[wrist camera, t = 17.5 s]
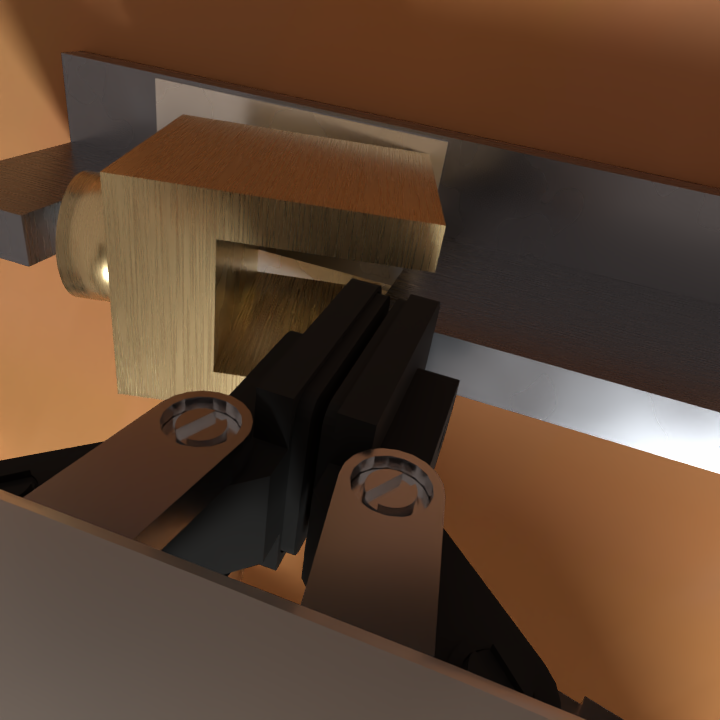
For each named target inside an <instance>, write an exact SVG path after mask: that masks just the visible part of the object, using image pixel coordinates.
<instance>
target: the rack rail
mask: <svg viewBox="0 0 720 720" xmlns="http://www.w3.org/2000/svg"><path fill="white" fill-rule="evenodd" d="M61 56H62V65H63V74H64V84H65V93H66V102H67V111H68V120H69V129H70V138H71V142H70V143H66V144H63V145H59V146H55V147H51V148H47V149H43V150H39V151H36V152H32V153H28V154H24V155H20V156H16V157H13V158H9V159H5V160H1V161H0V258H2V259H5V260H9V261H12V262H15V263H19V264H22V265H25V266H32V265H34V264H36V263H38V262H40V261H42V260H45V259H47V258H49V257H51V256H53V255H55V254H56V227H57V219H58V214H59V209H60V205H61V202H62V199H63V196H64V193H65V191H66V189H67V187H68V185H69V183H70V182H71V180H72V179H73V178H74V177H75V176H76V175H77V174H78V173H80V172H82V171H86V170H87V171H93V172H100V171H102V170H103V169H104V168H106V167H107V166H109V165H110V164H112V163H113V162H115V161H116V160H117V159H119V158H120V157H122V156H123V155H125V154H126V153H128V152H129V151H130V150H132V149H133V148H135V147H136V146H138V145H139V144H141V143H142V142H143V141H145V140H146V139H148V138H149V137H151V136H152V135H154V134H155V133H156V132H158V131H159V130H161V129H162V128H164V127H165V126H167V125H168V124H169V123H171V122H172V121H174V120H175V119H177V118H178V117H180V116H181V115H182V114H184V115H190V116H197V117H203V118H209V119H215V120H221V121H228V122H234V123H240V124H246V125H252V126H259V127H265V128H271V129H277V130H283V131H290V132H296V133H302V134H308V135H314V136H321V137H327V138H333V139H339V140H345V141H352V142H358V143H364V144H370V145H376V146H383V147H389V148H395V149H401V150H407V151H413V152H420V153H426V154H429V155H430V159H431V163H432V168H433V172H434V176H435V181H436V185H437V189H438V194H439V198H440V202H441V207H442V211H443V215H444V220H445V224H446V228H445V232H444V236H443V241H442V245H441V249H440V253H439V258H438V262H437V266H436V271H435V273H434V272H428V271H421V270H415V269H408V268H402V267H395V266H389V265H382V264H375V263H369V262H362V261H356V260H349V259H343V258H336V257H329V256H323V255H316V254H310V253H303V252H297V251H290V250H283V249H277V248H270V247H264V246H259V250H258V267H257V271H258V272H265V273H272V274H278V275H285V276H292V277H298V278H305V279H312V280H318V281H325V282H332V283H338V284H345V285H346V284H347V283H348V282H349V281H350V280H351V279H352V278H354V279H358V280H361V281H365V282H369V283H372V284H376V285H380V286H381V288H382V290H385V291H387V293H386V294H385V295H387V296H390V305H389V310H388V312H389V311H390V309H391V308H392V306H393V305H394V303H395V302H396V300H397V299H401V300H405V301H407V299H408V298H409V296H410V295H411V294H413V295H417V296H420V297H424V298H428V299H431V300H435V301H439V302H440V309H439V314H438V318H437V322H436V326H435V330H434V335H433V339H432V343H431V347H430V351H429V356H428V360H427V364H426V368H425V370H428V371H431V372H434V373H438V374H441V375H444V376H448V377H451V378H455V379H458V380H460V383H459V387H458V391H457V394H456V395H459V396H462V397H466V398H469V399H472V400H476V401H479V402H482V403H486V404H489V405H492V406H496V407H499V408H502V409H506V410H509V411H512V412H516V413H519V414H522V415H526V416H529V417H532V418H536V419H539V420H542V421H546V422H549V423H552V424H556V425H559V426H562V427H566V428H569V429H572V430H576V431H579V432H582V433H586V434H589V435H592V436H596V437H599V438H602V439H606V440H609V441H612V442H616V443H619V444H622V445H626V446H629V447H632V448H636V449H639V450H642V451H646V452H649V453H652V454H656V455H659V456H662V457H666V458H669V459H672V460H676V461H679V462H682V463H686V464H689V465H692V466H696V467H699V468H702V469H706V470H709V471H712V472H716V473H719V474H720V189H719V188H714V187H710V186H705V185H700V184H696V183H691V182H686V181H682V180H677V179H672V178H668V177H663V176H659V175H654V174H649V173H645V172H640V171H635V170H631V169H626V168H621V167H617V166H612V165H608V164H603V163H598V162H594V161H589V160H584V159H580V158H575V157H570V156H566V155H561V154H557V153H552V152H547V151H543V150H538V149H533V148H529V147H524V146H519V145H515V144H510V143H506V142H501V141H496V140H492V139H487V138H482V137H478V136H473V135H468V134H464V133H459V132H455V131H450V130H445V129H441V128H436V127H431V126H427V125H422V124H417V123H413V122H408V121H403V120H399V119H394V118H390V117H385V116H380V115H376V114H371V113H366V112H362V111H357V110H352V109H348V108H343V107H339V106H334V105H329V104H325V103H320V102H315V101H311V100H306V99H301V98H297V97H292V96H288V95H283V94H278V93H274V92H269V91H264V90H260V89H255V88H250V87H246V86H241V85H237V84H232V83H227V82H223V81H218V80H213V79H209V78H204V77H199V76H195V75H190V74H186V73H181V72H176V71H172V70H167V69H162V68H158V67H153V66H148V65H144V64H139V63H134V62H130V61H125V60H121V59H116V58H111V57H107V56H102V55H97V54H93V53H88V52H83V51H75V52H63V53H61Z"/></svg>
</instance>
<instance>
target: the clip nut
mask: <svg viewBox="0 0 720 720" xmlns="http://www.w3.org/2000/svg"><path fill="white" fill-rule="evenodd" d="M445 228H446V224H445V220H444V215H443V211H442V207H441V202H440V198H439V194H438V189H437V185H436V181H435V176H434V172H433V168H432V163H431V159H430V155H429V154H426V153H420V152H413V151H407V150H401V149H395V148H389V147H383V146H376V145H370V144H364V143H358V142H352V141H345V140H339V139H333V138H327V137H321V136H314V135H308V134H302V133H296V132H290V131H283V130H277V129H271V128H265V127H259V126H252V125H246V124H240V123H234V122H228V121H221V120H215V119H209V118H203V117H197V116H190V115H184V114H182V115H181V116H180V117H178V118H177V119H175V120H174V121H172V122H171V123H169V124H168V125H167V126H165V127H164V128H162V129H161V130H159V131H158V132H156V133H155V134H154V135H152V136H151V137H149V138H148V139H146V140H145V141H143V142H142V143H141V144H139V145H138V146H136V147H135V148H133V149H132V150H130V151H129V152H128V153H126V154H125V155H123V156H122V157H120V158H119V159H117V160H116V161H115V162H113V163H112V164H110V165H109V166H107V167H106V168H104V169H103V170H102V171H100V172H93V171H87V170H86V171H82V172H80V173H78V174H77V175H76V176H75V177H74V178H73V179H72V180H71V182H70V183H69V185H68V187H67V189H66V191H65V193H64V196H63V199H62V202H61V205H60V209H59V214H58V219H57V227H56V258H57V265H58V270H59V274H60V277H61V280H62V282H63V284H64V286H65V288H66V289H67V291H68V292H69V293H70V294H71V295H73V296H75V297H80V298H87V299H94V300H101V301H108V302H111V315H112V327H113V339H114V351H115V363H116V375H117V387H118V394H125V395H132V396H139V397H146V398H154V399H161V400H166V399H168V398H170V397H172V396H174V395H178V394H182V393H186V392H191V391H213V392H220V393H223V394H226V395H230V394H231V392H232V391H233V390H234V389H235V388H236V387H237V386H238V385H239V384H240V383H241V382H242V381H243V380H244V378H245V377H246V376H247V375H248V374H249V373H250V372H251V371H252V370H253V369H254V368H255V367H256V366H257V364H258V363H259V362H260V361H261V360H262V359H263V358H264V357H265V356H266V355H267V354H268V353H269V352H270V350H271V349H272V348H273V347H274V346H275V345H276V344H277V343H278V342H279V341H280V340H281V339H282V337H283V336H284V335H285V334H286V333H288V332H289V331H295V332H299V333H302V334H303V333H304V332H305V331H306V330H307V329H308V328H309V326H310V325H311V324H312V323H313V322H314V321H315V320H316V318H317V317H318V316H319V315H320V314H321V313H322V312H323V310H324V309H325V308H326V307H327V306H328V305H329V304H330V302H331V301H332V300H333V299H334V298H335V297H336V296H337V294H338V293H339V292H340V291H341V290H342V289H343V288H344V286H345V284H338V283H332V282H325V281H318V280H312V279H305V278H298V277H292V276H285V275H278V274H272V273H265V272H258V271H257V267H258V250H259V246H264V247H270V248H277V249H283V250H290V251H297V252H303V253H310V254H316V255H323V256H329V257H336V258H343V259H349V260H356V261H362V262H369V263H375V264H382V265H389V266H395V267H402V268H408V269H415V270H421V271H428V272H434V273H435V271H436V266H437V262H438V258H439V253H440V249H441V245H442V241H443V236H444V232H445ZM386 293H387V291H385V290H382V294H383V295H385V294H386Z"/></svg>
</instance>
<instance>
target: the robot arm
mask: <svg viewBox="0 0 720 720" xmlns="http://www.w3.org/2000/svg"><path fill="white" fill-rule="evenodd" d="M389 305H390V296H387V295H383V294H382V288H381V286H380V285H376V284H372V283H369V282H365V281H361V280H358V279H354V278H352V279H351V280H350V281H349V282H348V283H347V284H346V285H345V286H344V288H343V289H342V290H341V291H340V292H339V293H338V294H337V296H336V297H335V298H334V299H333V300H332V301H331V302H330V304H329V305H328V306H327V307H326V308H325V309H324V310H323V312H322V313H321V314H320V315H319V316H318V317H317V318H316V320H315V321H314V322H313V323H312V324H311V325H310V326H309V328H308V329H307V330H306V331H305V332H304V333H303V334H302V333H299V332H295V331H289V332H288V333H286V334H285V335H284V336H283V337H282V339H281V340H280V341H279V342H278V343H277V344H276V345H275V346H274V347H273V348H272V349H271V350H270V352H269V353H268V354H267V355H266V356H265V357H264V358H263V359H262V360H261V361H260V362H259V363H258V364H257V366H256V367H255V368H254V369H253V370H252V371H251V372H250V373H249V374H248V375H247V376H246V377H245V378H244V380H243V381H242V382H241V383H240V384H239V385H238V386H237V387H236V388H235V389H234V390H233V391H232V392H231V394H230V395H226V394H223V393H220V392H213V391H191V392H186V393H182V394H178V395H174V396H172V397H170V398H168V399H166V400H164V401H163V402H161V403H159V404H158V405H157V406H155V407H154V408H152V409H151V410H149V411H148V412H146V413H145V414H143V415H142V416H141V417H139V418H138V419H136V420H135V421H133V422H132V423H130V424H129V425H127V426H126V427H125V428H123V429H122V430H120V431H119V432H117V433H116V434H114V435H113V436H112V437H110V438H109V439H107V440H106V441H104V442H98V443H93V444H88V445H82V446H77V447H71V448H66V449H61V450H55V451H50V452H44V453H39V454H33V455H28V456H23V457H17V458H12V459H6V460H1V461H0V720H623V719H622V718H620V717H618V716H617V715H615V714H613V713H612V712H610V711H608V710H607V709H605V708H603V707H602V706H600V705H599V704H597V703H595V702H594V701H592V700H590V699H589V698H587V697H584V698H583V700H582V701H581V703H580V704H579V703H578V702H576V701H574V700H573V699H571V698H569V697H568V696H566V695H565V694H563V693H561V692H560V691H558V690H557V686H556V683H555V681H554V679H553V678H552V676H551V674H550V672H549V671H548V669H547V667H546V665H545V664H544V662H543V661H542V660H541V658H540V657H539V656H538V654H537V653H536V652H535V650H534V649H533V648H532V646H531V645H530V644H529V642H528V641H527V640H526V638H525V637H524V636H523V634H522V633H521V631H520V630H519V629H518V627H517V626H516V625H515V623H514V622H513V621H512V619H511V618H510V617H509V615H508V614H507V613H506V611H505V610H504V609H503V607H502V606H501V605H500V603H499V602H498V601H497V599H496V598H495V597H494V595H493V594H492V593H491V591H490V590H489V589H488V587H487V586H486V585H485V583H484V582H483V580H482V579H481V578H480V576H479V575H478V574H477V572H476V571H475V570H474V568H473V567H472V566H471V564H470V563H469V562H468V560H467V559H466V558H465V556H464V555H463V554H462V552H461V551H460V550H459V548H458V547H457V546H456V544H455V543H454V542H453V540H452V539H451V538H450V536H449V535H448V534H447V532H446V531H445V530H444V528H443V523H444V508H445V491H444V485H443V483H442V481H441V479H440V477H439V476H438V474H437V472H436V471H434V468H435V465H436V462H437V459H438V456H439V453H440V449H441V446H442V443H443V440H444V436H445V433H446V430H447V426H448V423H449V419H450V416H451V412H452V409H453V405H454V402H455V398H456V394H457V391H458V387H459V383H460V380H458V379H455V378H451V377H448V376H444V375H441V374H438V373H434V372H431V371H428V370H425V368H426V364H427V360H428V356H429V351H430V347H431V343H432V339H433V335H434V330H435V326H436V322H437V318H438V314H439V309H440V302H439V301H435V300H431V299H428V298H424V297H420V296H417V295H413V294H411V295H410V296H409V298H408V299H407V301H405V300H401V299H397V300H396V302H395V303H394V305H393V306H392V308H391V309H390V311H389V312H388V310H389ZM306 537H307V538H306ZM305 539H306V545H305V552H304V562H303V569H302V577H301V578H302V580H303V582H304V584H305V586H306V589H305V592H304V595H303V599H302V602H301V605H299V604H296V603H294V602H291V601H289V600H286V599H284V598H281V597H279V596H276V595H273V594H271V593H268V592H266V591H263V590H261V589H258V588H255V587H253V586H250V585H248V584H245V583H243V582H240V581H241V580H242V577H243V571H244V568H248V567H251V566H254V565H258V564H260V565H262V566H265V567H268V568H270V569H273V570H277V568H278V566H279V564H280V562H281V561H282V559H283V557H284V555H285V553H286V552H287V553H290V554H293V555H296V554H297V553H298V552H299V550H300V548H301V546H302V544H303V542H304V541H305Z"/></svg>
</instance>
